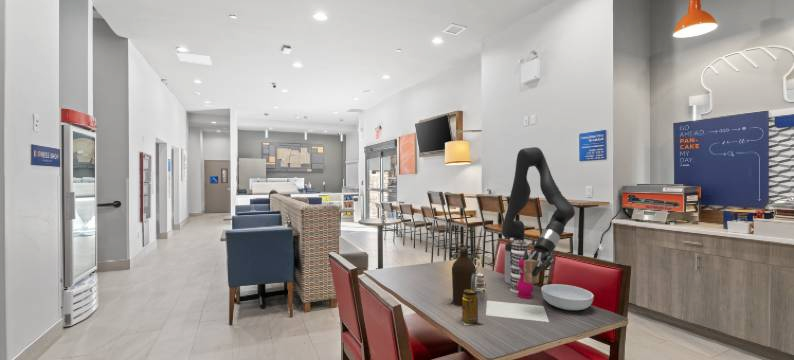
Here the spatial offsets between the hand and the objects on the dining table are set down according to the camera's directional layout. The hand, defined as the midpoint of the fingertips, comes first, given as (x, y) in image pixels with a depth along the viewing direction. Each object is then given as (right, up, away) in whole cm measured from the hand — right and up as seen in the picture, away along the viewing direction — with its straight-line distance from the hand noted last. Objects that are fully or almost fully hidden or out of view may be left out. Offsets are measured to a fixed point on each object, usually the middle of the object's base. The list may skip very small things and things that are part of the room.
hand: (528, 274), depth 150 cm
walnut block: (+1, -4, +1) cm, 4 cm away
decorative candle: (+6, -17, +31) cm, 36 cm away
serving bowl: (+20, -17, +9) cm, 28 cm away
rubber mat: (-4, -17, +3) cm, 17 cm away
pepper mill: (+6, -17, +21) cm, 27 cm away
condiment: (-25, -17, -8) cm, 31 cm away
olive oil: (-25, -16, +12) cm, 32 cm away
